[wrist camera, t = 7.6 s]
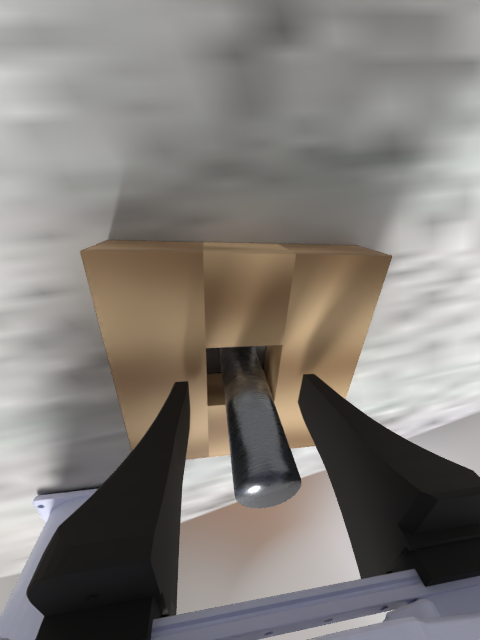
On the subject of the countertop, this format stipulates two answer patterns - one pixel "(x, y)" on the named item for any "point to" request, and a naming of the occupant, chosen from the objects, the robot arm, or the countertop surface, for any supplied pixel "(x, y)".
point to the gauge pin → (255, 433)
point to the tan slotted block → (229, 323)
